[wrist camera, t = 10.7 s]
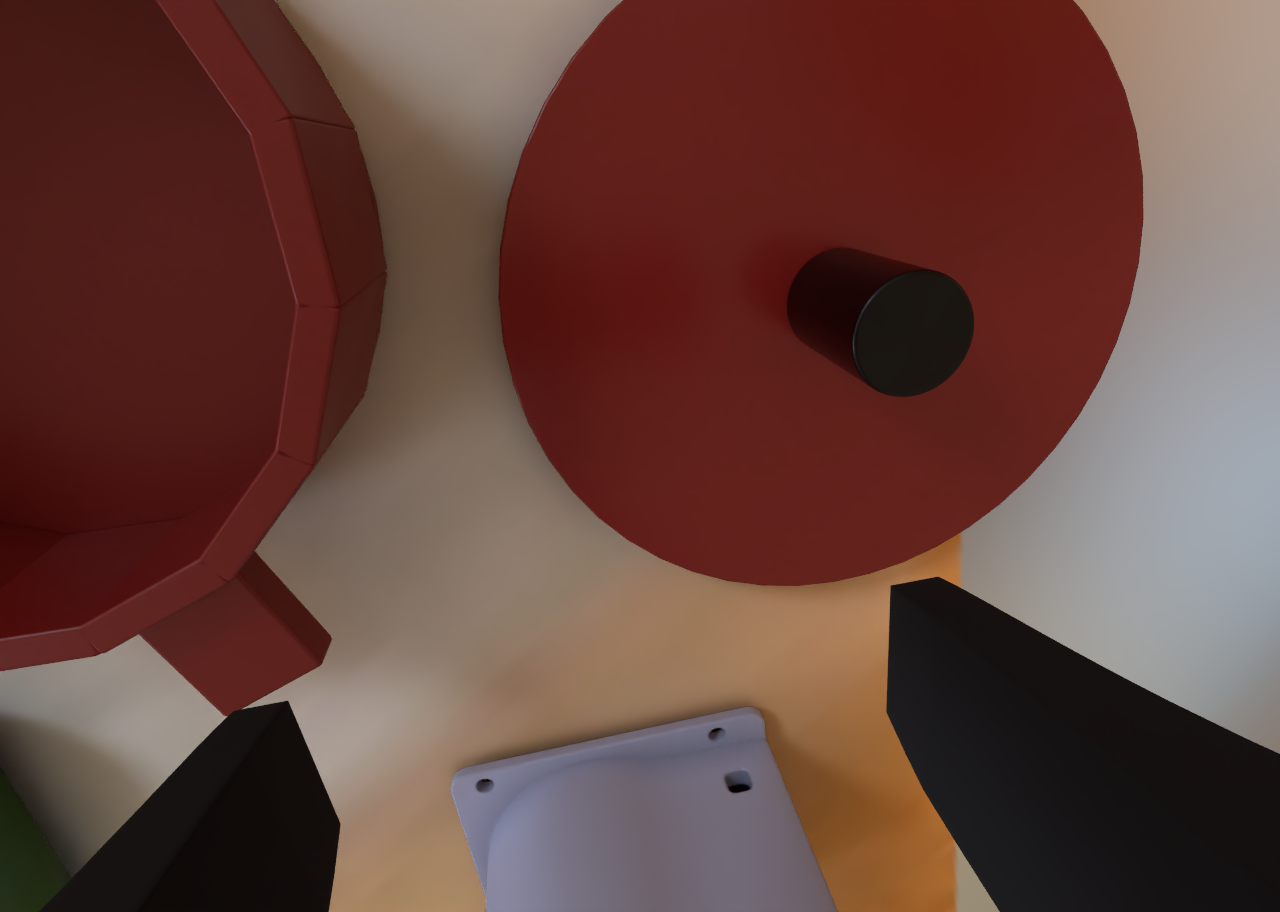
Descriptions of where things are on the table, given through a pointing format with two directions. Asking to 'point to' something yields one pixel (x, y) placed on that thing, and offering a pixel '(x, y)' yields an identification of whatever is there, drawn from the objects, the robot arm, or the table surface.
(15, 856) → the cucumber
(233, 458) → the pot
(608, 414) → the lid
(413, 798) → the table surface
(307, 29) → the table surface
